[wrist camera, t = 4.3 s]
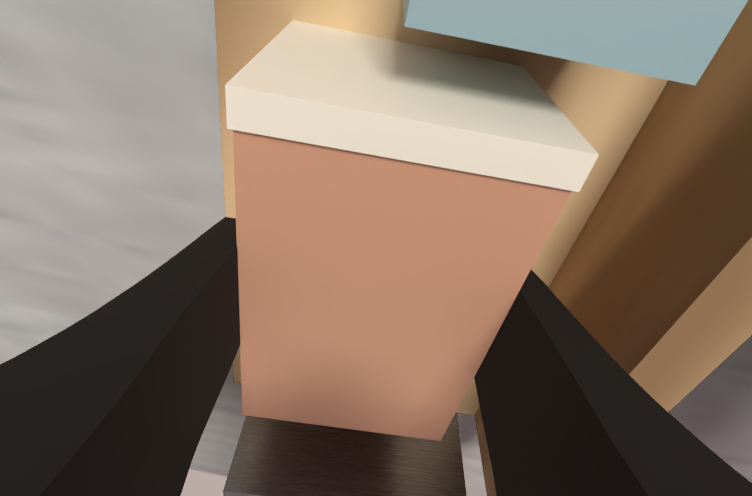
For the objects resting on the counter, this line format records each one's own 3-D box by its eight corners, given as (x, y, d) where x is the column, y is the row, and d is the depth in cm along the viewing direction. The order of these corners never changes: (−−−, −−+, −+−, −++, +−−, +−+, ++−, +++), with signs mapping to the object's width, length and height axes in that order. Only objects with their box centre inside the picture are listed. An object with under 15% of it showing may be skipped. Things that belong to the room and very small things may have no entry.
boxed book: (523, 65, 9) (599, 155, 6) (431, 314, 14) (443, 445, 11) (293, 19, 9) (224, 85, 6) (279, 290, 14) (239, 418, 10)
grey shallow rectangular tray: (452, 373, 16) (469, 520, 12) (435, 409, 18) (445, 550, 14) (267, 347, 16) (223, 490, 12) (266, 386, 17) (226, 525, 13)
